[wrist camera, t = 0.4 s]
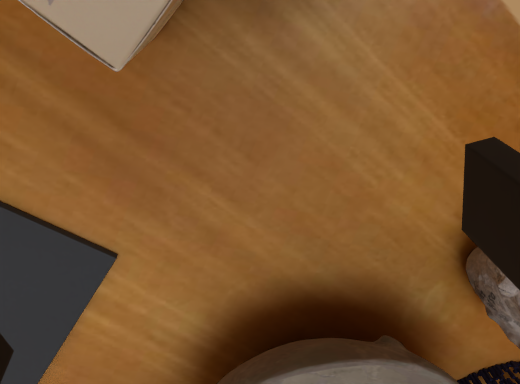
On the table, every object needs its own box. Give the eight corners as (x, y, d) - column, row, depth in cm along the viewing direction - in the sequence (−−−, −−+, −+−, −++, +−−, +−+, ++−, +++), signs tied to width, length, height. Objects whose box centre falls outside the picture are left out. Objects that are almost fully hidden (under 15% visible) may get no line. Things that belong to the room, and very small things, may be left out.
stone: (418, 262, 37) (482, 351, 28) (476, 205, 35) (566, 281, 26) (484, 307, 40) (561, 399, 32) (542, 256, 38) (641, 340, 30)
